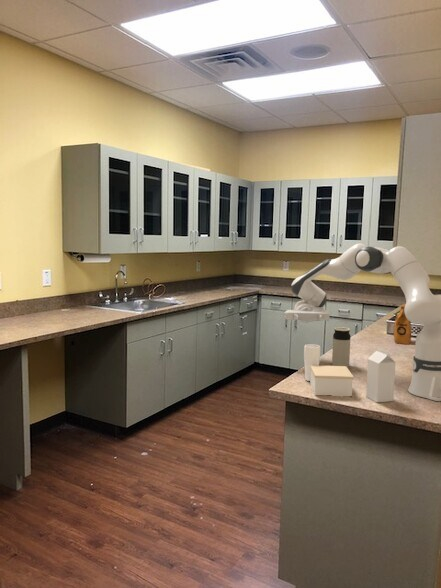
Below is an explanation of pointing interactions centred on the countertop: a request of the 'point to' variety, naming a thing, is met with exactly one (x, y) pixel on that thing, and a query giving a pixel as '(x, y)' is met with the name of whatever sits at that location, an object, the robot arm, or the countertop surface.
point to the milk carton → (380, 377)
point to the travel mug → (341, 347)
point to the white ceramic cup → (311, 358)
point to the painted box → (331, 380)
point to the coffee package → (402, 328)
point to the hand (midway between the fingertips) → (308, 318)
